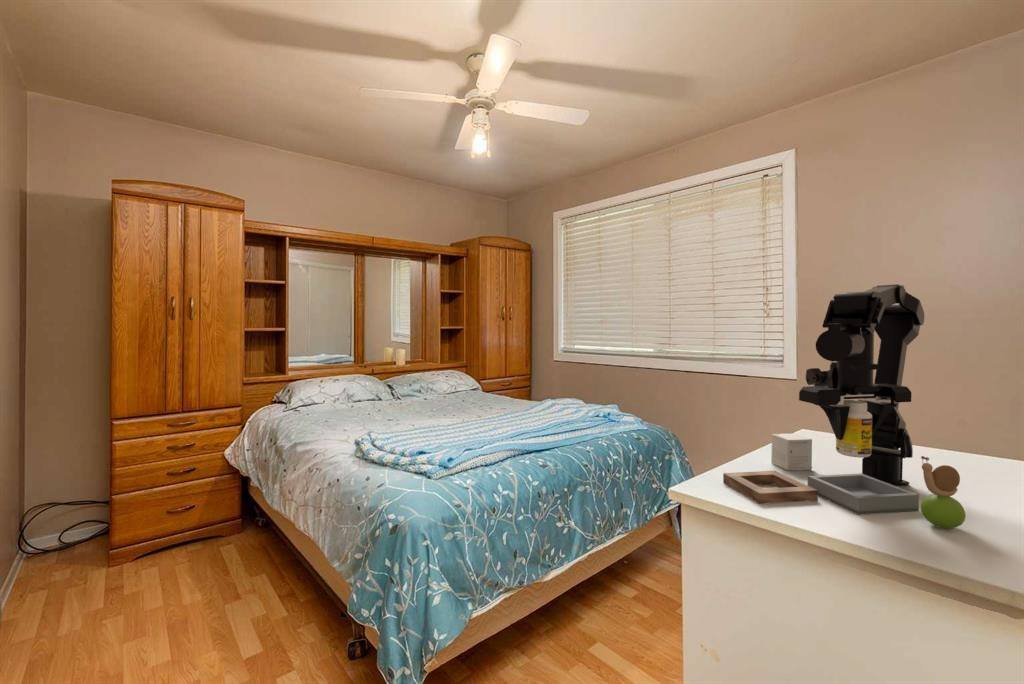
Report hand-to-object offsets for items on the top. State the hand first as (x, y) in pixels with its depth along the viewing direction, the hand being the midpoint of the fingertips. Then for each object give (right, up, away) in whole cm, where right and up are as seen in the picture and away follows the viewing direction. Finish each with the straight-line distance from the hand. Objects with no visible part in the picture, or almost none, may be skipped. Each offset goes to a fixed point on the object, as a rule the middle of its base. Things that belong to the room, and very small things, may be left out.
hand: (853, 438), depth 89 cm
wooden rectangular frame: (-14, -12, +5) cm, 19 cm away
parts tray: (+1, -12, 0) cm, 12 cm away
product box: (+1, -11, +21) cm, 24 cm away
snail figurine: (+5, -12, -12) cm, 18 cm away
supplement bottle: (0, -3, 0) cm, 3 cm away
